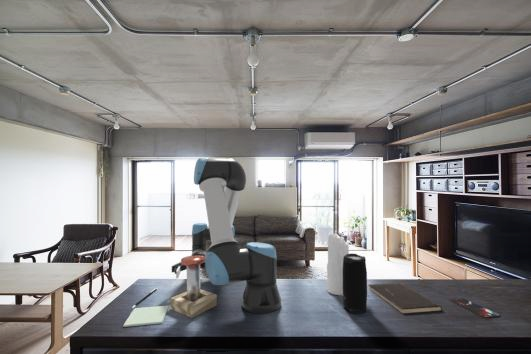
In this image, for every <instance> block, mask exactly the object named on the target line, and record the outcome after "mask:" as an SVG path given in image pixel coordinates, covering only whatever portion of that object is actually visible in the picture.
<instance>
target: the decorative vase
mask: <svg viewBox="0 0 531 354" xmlns="http://www.w3.org/2000/svg"><path fill="white" fill-rule="evenodd" d="M349 252H350V250H349V244H348V243H347V241H346V240H345V238H344V236H340V235H339V234H338V233H332V232H330V233H328V235H327V264H326V280H325V290H326V292H328V293H329V294H332V295H337V296H343V258H344V256H345V255H347V254H350V253H349Z"/></svg>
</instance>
